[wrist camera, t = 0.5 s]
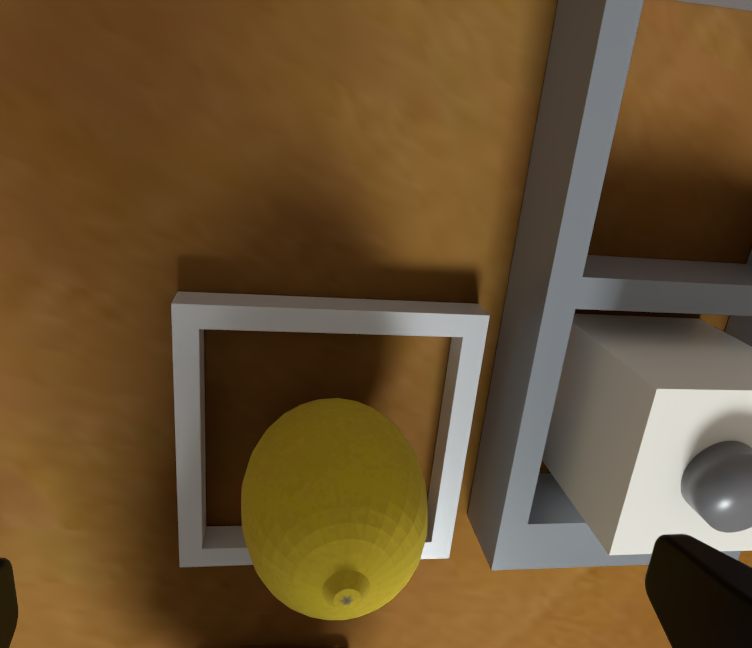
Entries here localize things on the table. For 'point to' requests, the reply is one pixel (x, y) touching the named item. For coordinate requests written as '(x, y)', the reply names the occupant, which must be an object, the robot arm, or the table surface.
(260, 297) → the frame
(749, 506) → the single plug block
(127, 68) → the table surface
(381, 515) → the lemon
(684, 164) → the table surface
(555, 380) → the grey double frame tray
